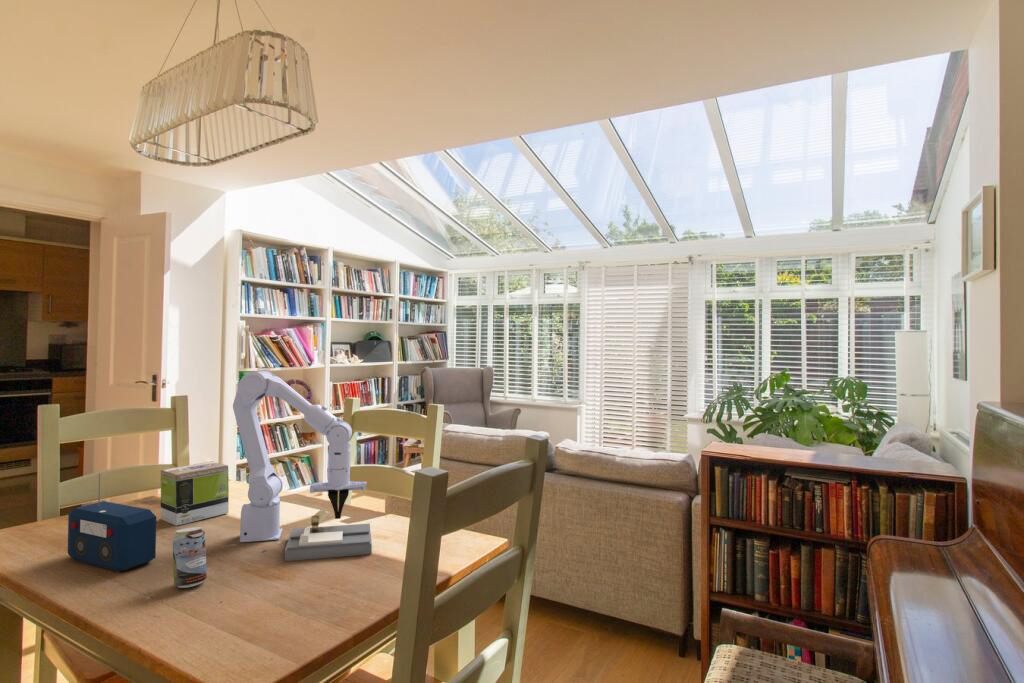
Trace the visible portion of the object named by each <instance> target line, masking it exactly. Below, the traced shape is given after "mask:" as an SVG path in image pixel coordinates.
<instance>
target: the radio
mask: <svg viewBox="0 0 1024 683" xmlns="http://www.w3.org/2000/svg"><path fill="white" fill-rule="evenodd" d="M100 495H101V473H98V496H97V497H98V498H97V499H98V502H94V503H91V504H87V505H82V506H78V507H75V508H73V509H71V510H70V511H69V512H68V513H67V514H68V516H67V518H68V523H67V530H68V531H67V554H68V556H69V557H70V558H71V559H72V560H73V561H75V562H79V563H84V564H88V565H91V566H95V567H98V568H103V569H107V570H110V571H114V572H117V573H122V572H125V571H128V570H130V569H133V568H136V567H138V566H142V565H144V564H147V563H149V562H151V561H153V560H154V559H156V556H157V555H156V554H157V553H156V550H157V549H156V546H157V544H156V543H157V516H156V515H155V513H153V511H152V510H151V509H148V508H143V507H142V508H141V507H137V506H131V505H127V504H126V505H125V504H121V503H116V502H111V501H106V500H105V501H104V500H103V501H100V500H101V496H100Z"/></svg>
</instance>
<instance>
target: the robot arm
mask: <svg viewBox="0 0 1024 683" xmlns="http://www.w3.org/2000/svg"><path fill="white" fill-rule="evenodd" d="M264 397H272V398H273V397H274V398H279V399H281V400H283V402H285V403H286V404H288V405H290V406H292V407H293V409H295V410H297V411H298V412H300V413H301V414H303V418H304V422H305V423H307V424H308V425H309V426H311V428H314V430H316V431H317V432H318V433H320V435H322V436H326V441H327V442H328V451H327V452H328V454H327V455H328V456H327V460H328V461H327V482H326V481H325V482H319V483H311V484H310V485H309V494H314V493H325V492H327V496H328V499H329V502H330V504H331V505H332V506H331V507H332V508H333V513H334V519H335V520H336V519H341V518H342V512H343V508H344V506H345V502H346V501H347V499H348V497H349V494H350V492H349V491H367V481H352V480H351V479H350V478H351V438H352V436H353V429H352V426H351V425H350V424H349V423H348V422H347V421H344V420H342V418H341V417H338V416H335V415H334V414H333V413H332V412H331V411H329V410H328V406H326V405H325V404H324V405H321V404H319V403H318V404H312V403H310V402H309V401H308V400H307V399H306V398H304V397H303V395H301V394H300V393H299V392H297V391H296V390H295V389H294V388H293V387H291V386H290V385H289V384H288V383H287V382H285V381H284V379H282V378H281V377H279V376H277V375H274V373H272V372H271V371H269V370H267V369H264V370H259V371H250V372H248V373H246V374H245V375H244V376H243V377H242V378H241V379H240V381H239V382H238V383H237V391H236V393H235V396H234V399H233V400H234V401H233V403H232V409H233V414H234V416H235V417H234V418H235V420H236V424H237V427H238V431H239V435H240V436H239V437H240V440H241V444H242V447H243V451H244V454H245V458H246V462H247V465H248V469H249V474H248V478H247V482H248V491H247V498H248V500H249V501H250V503H244V504H243V505H242V506H241V510H240V525H239V526H240V527H239V528H240V530H239V532H240V533H239V535H240V536H239V543H250V542H262V541H263V542H264V541H265V542H267V541H278V540H280V539H281V535H282V533H283V528H282V527H280V523H281V522H280V520H281V516H280V514H281V512H280V510H281V499H280V496H279V494H280V493H281V492H282V490H283V485H284V484H283V483H284V482H283V480H282V478H281V477H280V476H279V475H278V474H277V472H276V468H275V467H274V466H273V465H272V464H271V461H270V457H269V453H268V449H267V445H266V442H265V438H264V435H263V432H262V431H263V430H262V426H261V424H260V419H259V416H258V412H257V407H258V405H259V404H260V403H261V401H262V400H263V399H264Z"/></svg>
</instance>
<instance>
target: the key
mask: <svg viewBox="0 0 1024 683" xmlns="http://www.w3.org/2000/svg"><path fill="white" fill-rule="evenodd" d="M326 518H327V509H320V510H318V511H317V512H316V513H315V514H314V515H311V517H310V521H311V522H310V524H311V527H312V531H318V527H319V525H320V523H321V522H322V521H324V520H325V519H326Z"/></svg>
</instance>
